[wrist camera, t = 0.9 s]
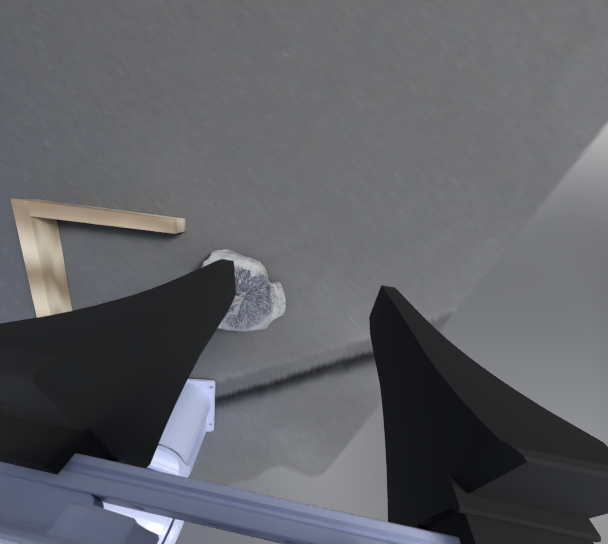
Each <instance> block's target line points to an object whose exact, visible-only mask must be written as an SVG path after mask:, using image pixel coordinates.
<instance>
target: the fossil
mask: <svg viewBox="0 0 608 544" xmlns="http://www.w3.org/2000/svg"><path fill="white" fill-rule="evenodd" d="M220 259H226V260H232V261H234V270H235V284H236V295H235V298H234V300H233V302H232V304H231V306H230V308H229V310H228V312H227V314H226V315H225V317H224V318H223V320H222V321H221V323H220V325H219V326H218V329H220V328H221V329H224V330H228V331H231V330H234V331H243V332H245V331H253V330H259V329H260V330H262V329H266V328H267V327H268V325H269V324H270V323H271V322H272V320H274V319H276V318H277V317H279V316H280V315H283V314H284V311H285V308H286V299H285V295H284V292H283V286H281V283H280V282H279V281H278V282H272V283H270V281H269V280H268V277H269V276H268V275H267V270H266V269H265V267H264V266H263V265H262V263H261V262H260V261H258V260H255V259H253V258H251V257H244V256H243V255H242V254H239V253H235V252H233V251H231V250H224V249H223V250H216V251H214V252H212V253H211V254H210V256H209V258H208V259H207V260H206V261H204V262H203V266H202V267H204V266H206V265H208V264H210V263H213V262H215V261H217V260H220ZM202 267H201V268H202Z"/></svg>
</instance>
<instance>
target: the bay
mask: <svg viewBox="0 0 608 544" xmlns="http://www.w3.org/2000/svg"><path fill="white" fill-rule="evenodd" d="M11 202H12V207H13V211H14V216H15V220H16V225H17V229H18V234H19V239H20V243H21V248H22V252H23V257H24V261H25V266H26V270H27V275H28V279H29V284H30V288H31V293H32V297H33V302H34V307H35V311H36V316H37V318H38V317H44V316H49V315H54V314H59V313H64V312H69V311H72V306H71V300H70V294H69V288H68V282H67V276H66V270H65V265H64V259H63V253H62V247H61V241H60V235H59V229H58V223H57V219H58V220H67V221H75V222H83V223H91V224H99V225H108V226H116V227H124V228H132V229H141V230H149V231H157V232H165V233H174V234H176V233H180V232H185V231H186V226H185V218H177V217H170V216H162V215H154V214H146V213H138V212H131V211H123V210H115V209H107V208H100V207H92V206H84V205H76V204H68V203H61V202H53V201H45V200H34V199H11Z"/></svg>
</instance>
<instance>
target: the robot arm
mask: <svg viewBox="0 0 608 544" xmlns="http://www.w3.org/2000/svg"><path fill="white" fill-rule="evenodd" d="M235 295H236V284H235V270H234V261H232V260H226V259H220V260H217V261H215V262H213V263H210V264H208V265H206V266H204V267H202V268H200V269H197V270H195V271H193V272H191V273H189V274H187V275H184V276H182V277H180V278H177V279H175V280H173V281H170V282H168V283H165V284H163V285H161V286H158V287H155V288H152V289H150V290H147V291H144V292H141V293H138V294H135V295H132V296H129V297H125V298H121V299H118V300H114V301H110V302H107V303H103V304H100V305H96V306H91V307H87V308H83V309H78V310H74V311H69V312H64V313H59V314H54V315H49V316H44V317H38V318H32V319H26V320H20V321H14V322H8V323H1V324H0V544H175V542H176V540H177V537H178V535H179V533H180V531H181V528H182V526H183V523H184V521H186V522H191V523H195V524H199V525H203V526H208V527H212V528H216V529H221V530H225V531H229V532H234V533H238V534H242V535H247V536H251V537H256V538H260V539H264V540H268V541H273V542H277V543H281V544H594V543H593V542H600V541H601V537H600V535H599V533H598V532H597V530H596V529H595V527H594V526H593V524H592V523H591V521H590V520H589V518H592V517H596V516H600V515H603V514H607V513H608V447H607V446H606V445H605V444H604V443H603V442H601V441H600V440H598V439H597V438H595V437H593V436H591V435H590V434H588V433H586V432H584V431H583V430H581V429H579V428H577V427H576V426H574V425H572V424H570V423H569V422H567V421H565V420H563V419H562V418H560V417H558V416H557V415H555V414H553V413H551V412H550V411H548V410H546V409H545V408H543V407H541V406H540V405H538V404H537V403H535V402H533V401H532V400H530V399H529V398H527V397H526V396H524V395H522V394H521V393H519V392H518V391H516V390H515V389H513V388H512V387H510V386H509V385H507V384H506V383H504V382H503V381H501V380H500V379H498V378H497V377H496V376H494V375H493V374H491V373H490V372H488V371H487V370H486V369H484V368H483V367H481V366H480V365H479V364H477V363H476V362H475V361H473V360H472V359H471V358H469V357H468V356H467V355H466V354H464V353H463V352H462V351H461V350H459V349H458V348H457V347H456V346H454V345H453V344H452V343H451V342H450V341H449V340H447V339H446V338H445V337H444V336H443V335H442V334H441V333H440V332H439V331H437V330H436V329H435V328H434V327H433V326H432V325H431V324H430V323H429V322H428V321H427V320H426V319H425V318H424V317H423V316H422V315H421V314H420V313H419V312H418V311H417V310H416V309H415V308H414V307H413V306H412V305H411V304H410V303H409V302H408V301H407V300H406V299H405V298H404V296H403V295H402V294H401V293H400V292H399V291H398V290H397V289H395V288H394V287H388V286H382V285H381V288H380V291H379V293H378V296H377V298H376V301H375V304H374V306H373V309H372V312H371V314H370V317H369V318H370V336H371V341H372V346H373V352H374V356H375V361H376V366H377V371H378V376H379V382H380V388H381V396H382V407H383V417H384V431H385V445H386V464H387V491H388V492H387V493H388V522H385V521H381V520H377V519H372V518H368V517H363V516H359V515H354V514H350V513H345V512H340V511H336V510H331V509H327V508H322V507H318V506H314V505H309V504H304V503H299V502H295V501H291V500H286V499H282V498H277V497H273V496H268V495H263V494H259V493H254V492H250V491H245V490H241V489H236V488H232V487H227V486H223V485H218V484H214V483H209V482H204V481H200V480H195V479H191V478H188V476H189V474H190V472H191V470H192V468H193V465H194V462H195V460H196V457H197V454H198V452H199V449H200V446H201V444H202V441H203V438H204V436H205V433H206V431H213V429H214V415H215V381H214V380H206V379H189V375H190V374H191V372H192V370H193V368H194V366H195V364H196V362H197V360H198V358H199V356H200V354H201V353H202V351H203V349H204V348H205V346H206V345H207V343H208V341H209V340H210V338H211V337H212V335H213V334H214V332H215V331H216V329H217V328H218V326H219V325H220V323H221V321H222V320H223V318H224V317H225V315H226V314H227V312H228V310H229V308H230V306H231V304H232V302H233V300H234V298H235ZM211 386H212V387H211ZM592 541H593V542H592Z"/></svg>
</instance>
